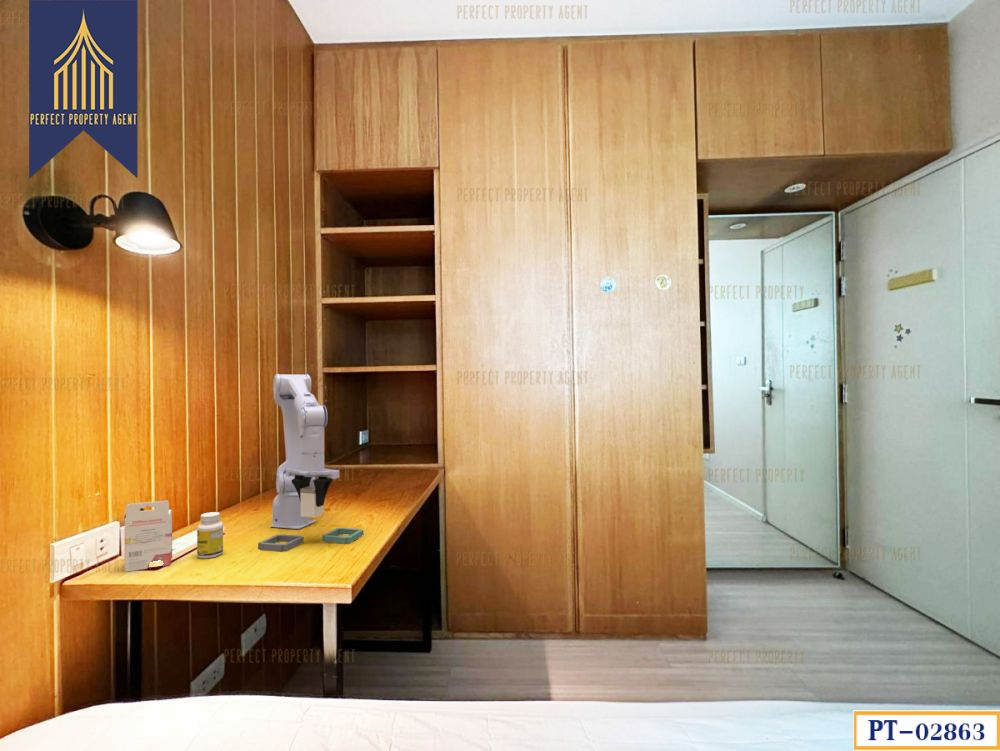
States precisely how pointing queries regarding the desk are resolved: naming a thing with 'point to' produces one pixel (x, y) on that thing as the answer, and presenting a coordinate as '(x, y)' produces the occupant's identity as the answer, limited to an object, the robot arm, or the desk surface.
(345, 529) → the socket
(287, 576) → the desk surface
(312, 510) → the plug
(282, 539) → the socket
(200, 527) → the supplement bottle
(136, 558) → the ink cartridge box
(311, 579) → the desk surface
